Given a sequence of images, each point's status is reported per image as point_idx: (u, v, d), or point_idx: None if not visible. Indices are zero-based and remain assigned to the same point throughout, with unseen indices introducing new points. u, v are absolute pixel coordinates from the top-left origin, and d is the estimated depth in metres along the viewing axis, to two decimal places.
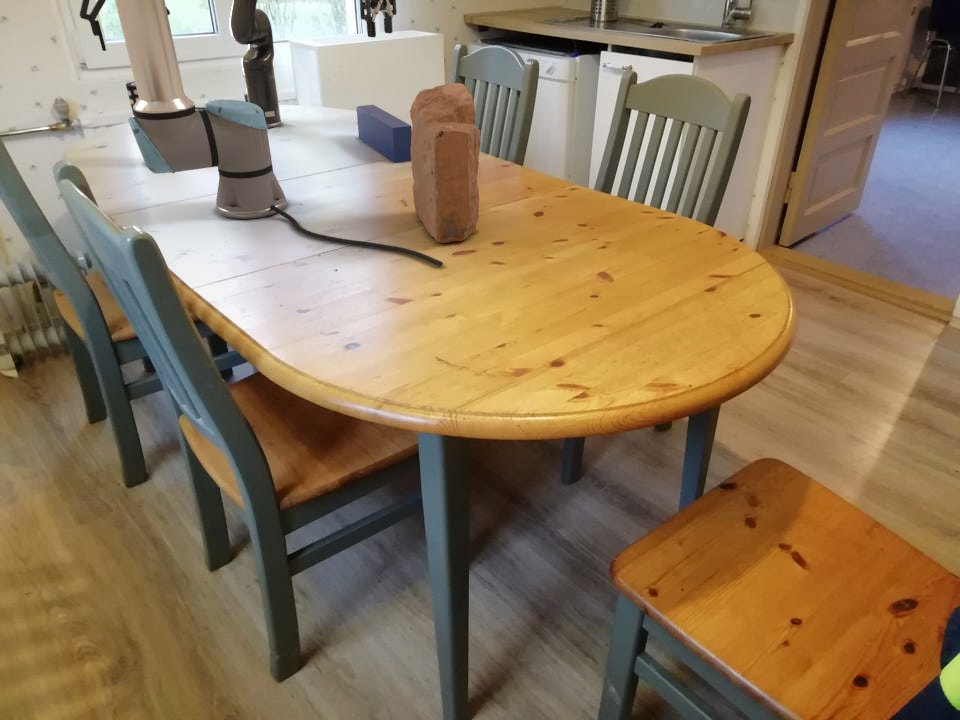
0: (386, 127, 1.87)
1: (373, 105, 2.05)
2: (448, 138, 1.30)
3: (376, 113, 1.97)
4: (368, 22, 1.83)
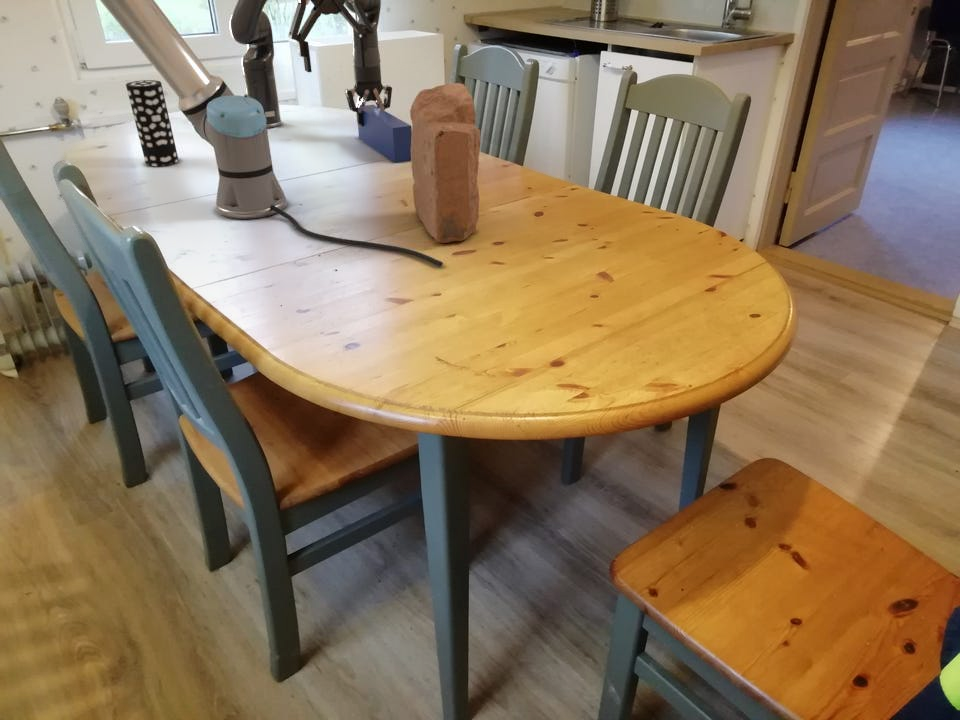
0: (386, 127, 1.87)
1: (373, 105, 2.05)
2: (448, 138, 1.30)
3: (376, 113, 1.97)
4: (357, 113, 2.01)
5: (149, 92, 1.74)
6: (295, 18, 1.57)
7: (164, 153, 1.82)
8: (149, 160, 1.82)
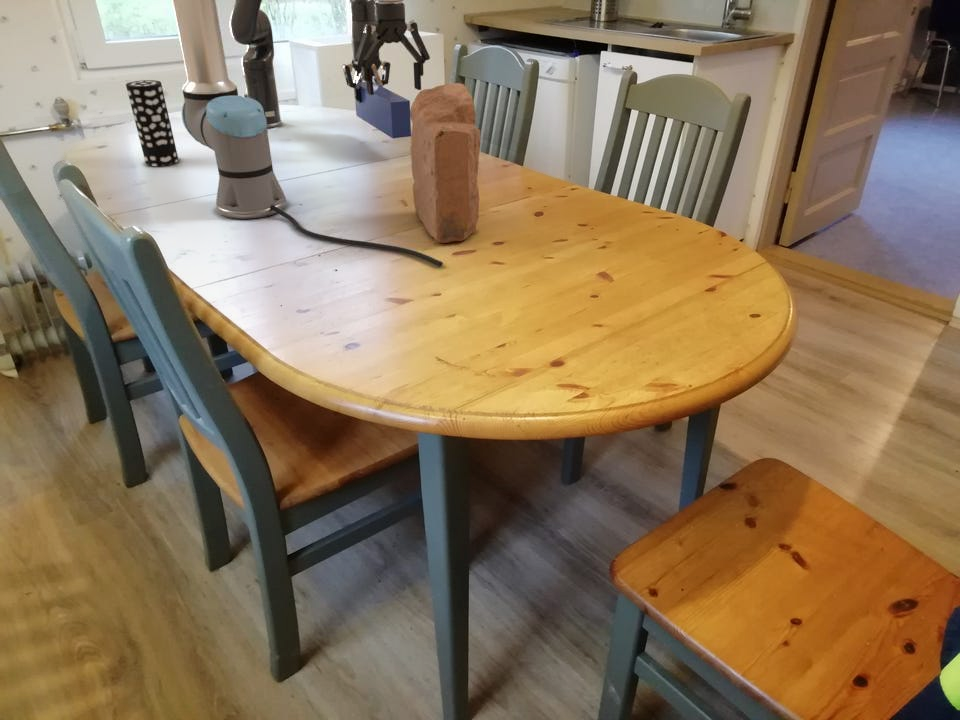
0: (384, 102, 1.84)
1: None
2: (448, 138, 1.30)
3: (374, 89, 1.93)
4: (354, 89, 1.97)
5: (149, 92, 1.74)
6: (361, 46, 1.73)
7: (164, 153, 1.82)
8: (149, 160, 1.82)
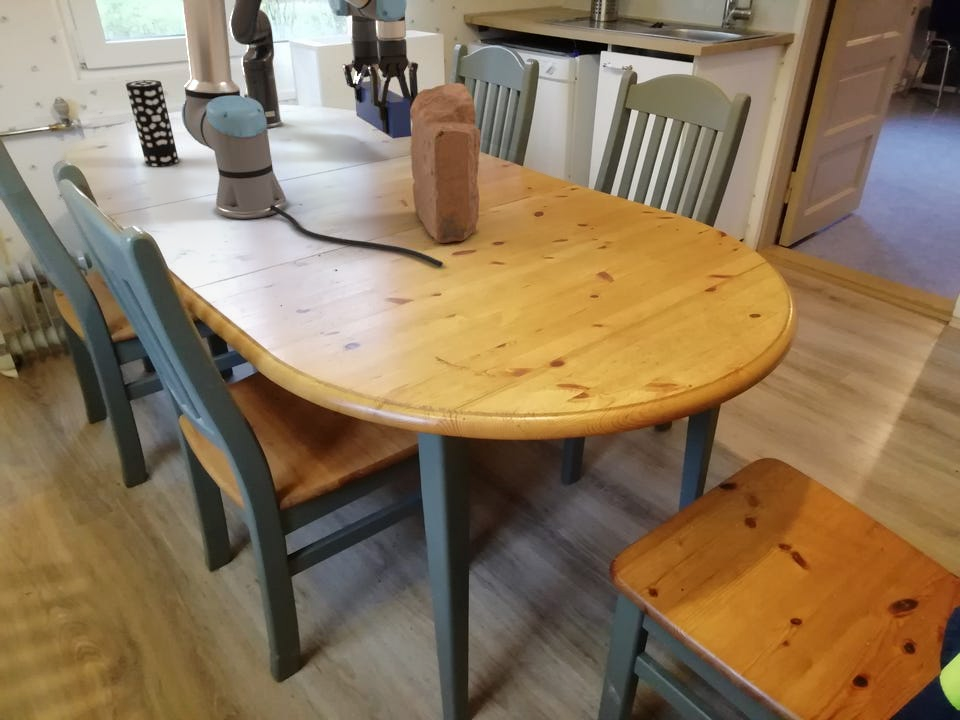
0: None
1: None
2: (448, 138, 1.30)
3: None
4: (354, 89, 1.97)
5: (149, 92, 1.74)
6: (371, 88, 1.80)
7: (164, 153, 1.82)
8: (149, 160, 1.82)
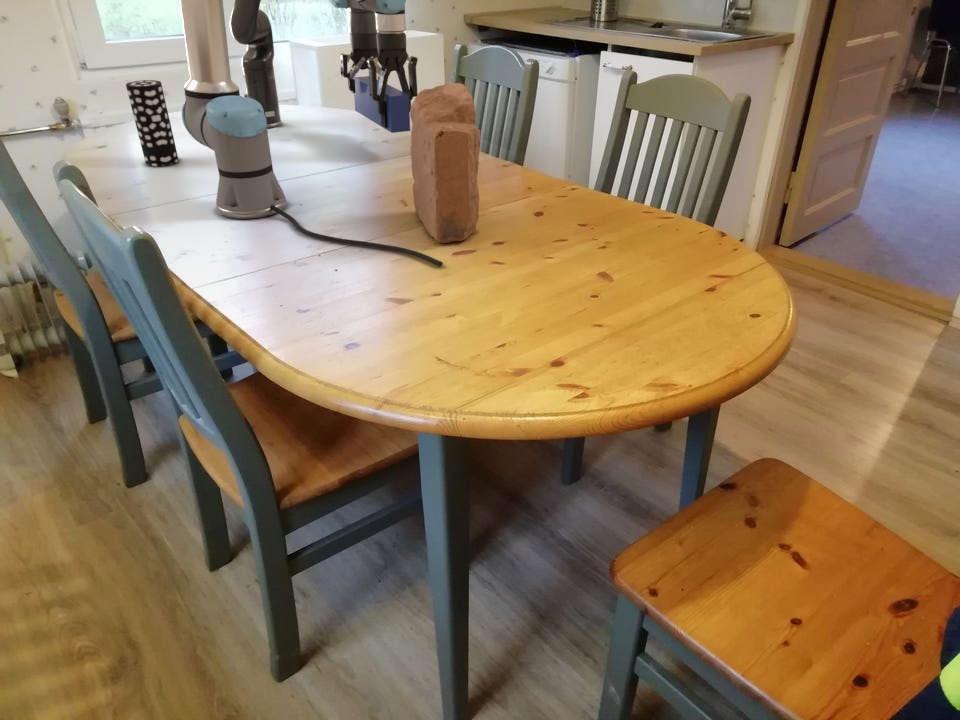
0: None
1: None
2: (448, 138, 1.30)
3: None
4: (348, 79, 1.96)
5: (149, 92, 1.74)
6: (370, 82, 1.79)
7: (164, 153, 1.82)
8: (149, 160, 1.82)
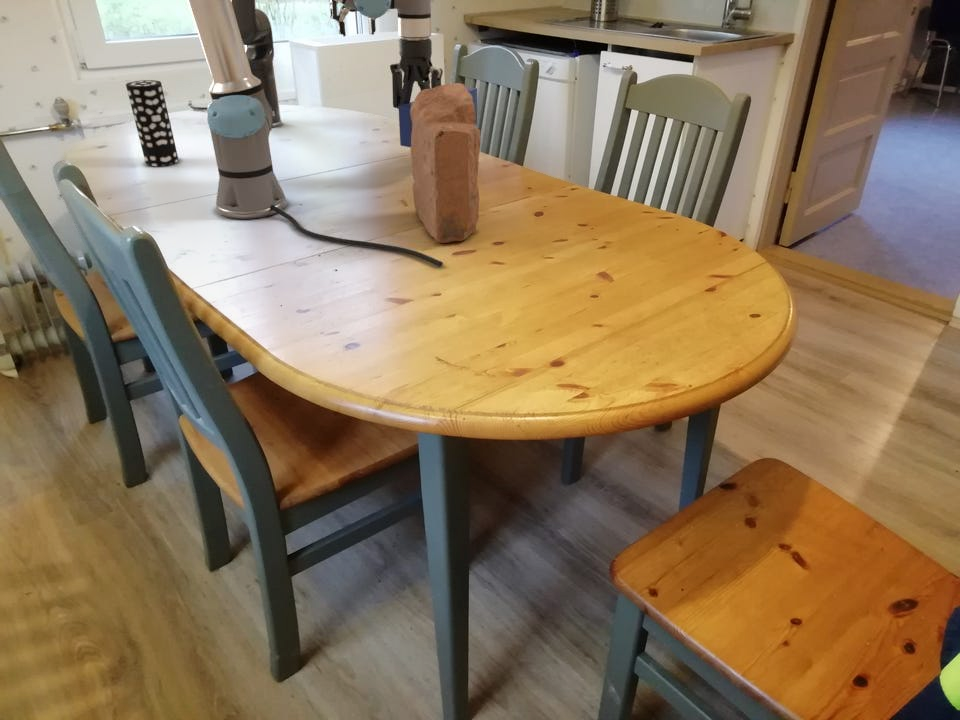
0: None
1: (473, 88, 1.81)
2: (448, 138, 1.30)
3: None
4: (338, 21, 1.92)
5: (149, 92, 1.74)
6: None
7: (164, 153, 1.82)
8: (149, 160, 1.82)
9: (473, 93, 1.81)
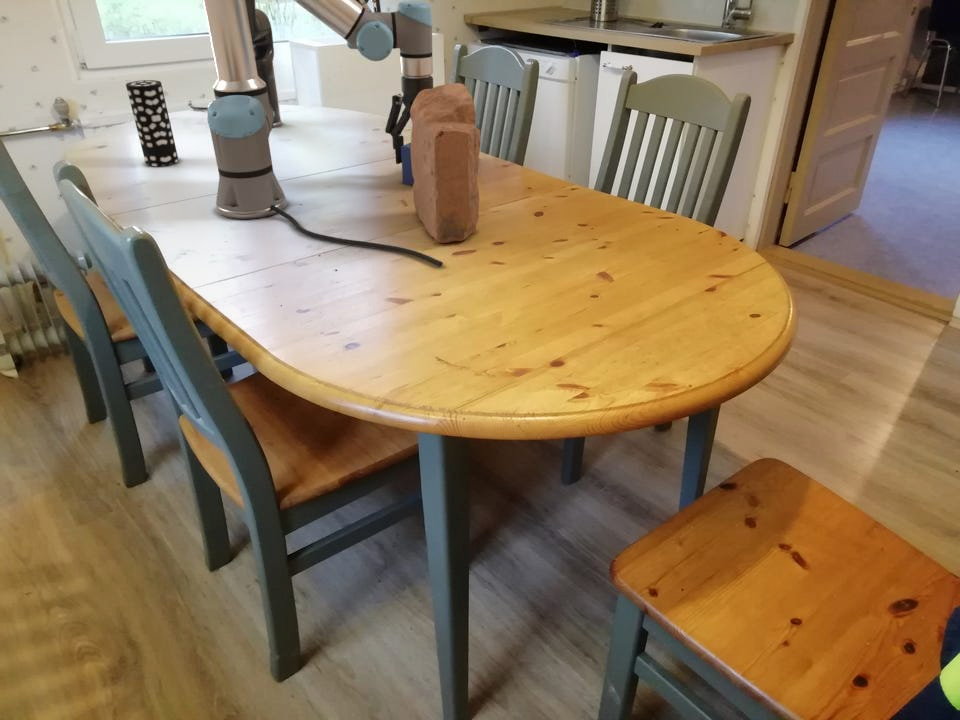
0: None
1: None
2: (448, 138, 1.30)
3: None
4: None
5: (149, 92, 1.74)
6: None
7: (164, 153, 1.82)
8: (149, 160, 1.82)
9: None
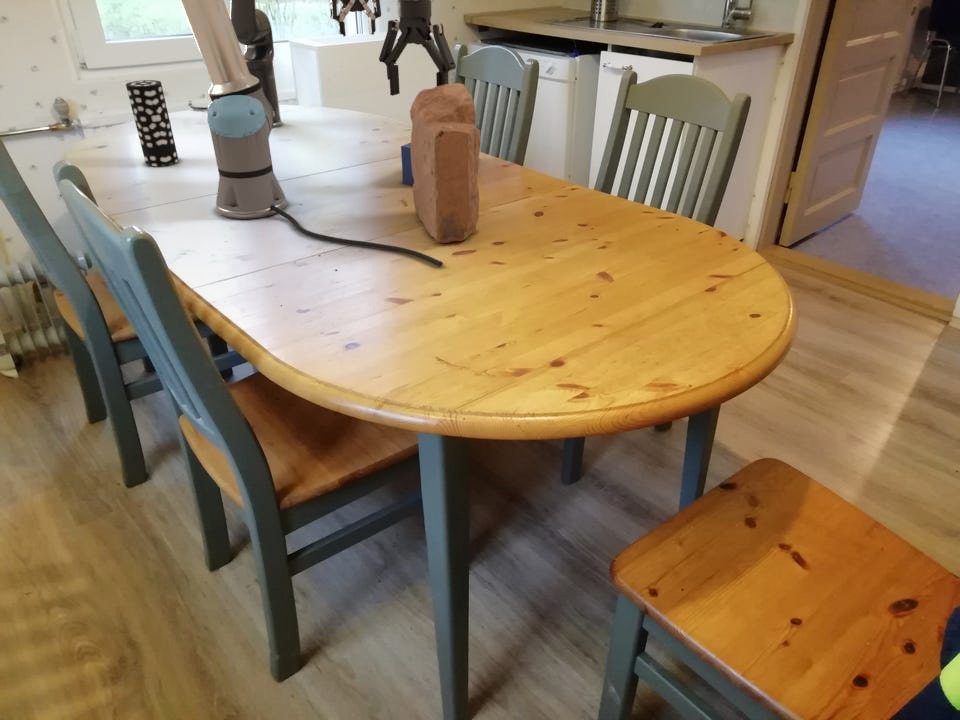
0: None
1: None
2: (448, 138, 1.30)
3: None
4: (338, 21, 1.92)
5: (149, 92, 1.74)
6: None
7: (164, 153, 1.82)
8: (149, 160, 1.82)
9: None
